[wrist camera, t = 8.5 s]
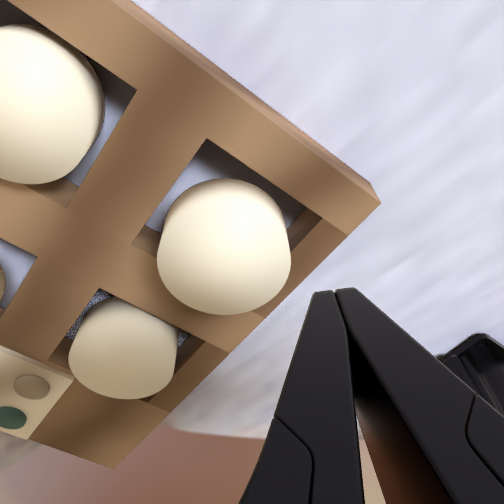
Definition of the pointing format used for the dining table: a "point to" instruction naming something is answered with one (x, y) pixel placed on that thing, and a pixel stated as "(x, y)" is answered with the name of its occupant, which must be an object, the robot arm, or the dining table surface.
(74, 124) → the button
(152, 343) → the button
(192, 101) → the board
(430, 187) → the dining table surface
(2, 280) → the button
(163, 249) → the button
